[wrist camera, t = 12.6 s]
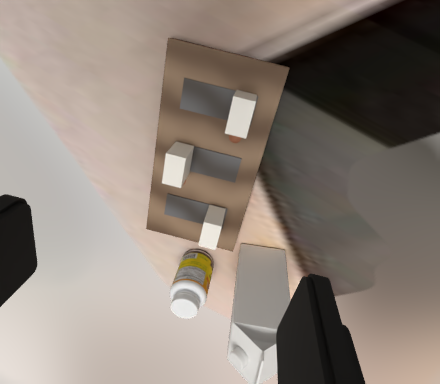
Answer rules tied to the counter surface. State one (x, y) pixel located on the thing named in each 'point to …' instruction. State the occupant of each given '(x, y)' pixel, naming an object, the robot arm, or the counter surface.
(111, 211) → the counter surface
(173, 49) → the switch board
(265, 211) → the counter surface
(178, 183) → the knob middle
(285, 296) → the milk carton
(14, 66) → the counter surface
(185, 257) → the supplement bottle
